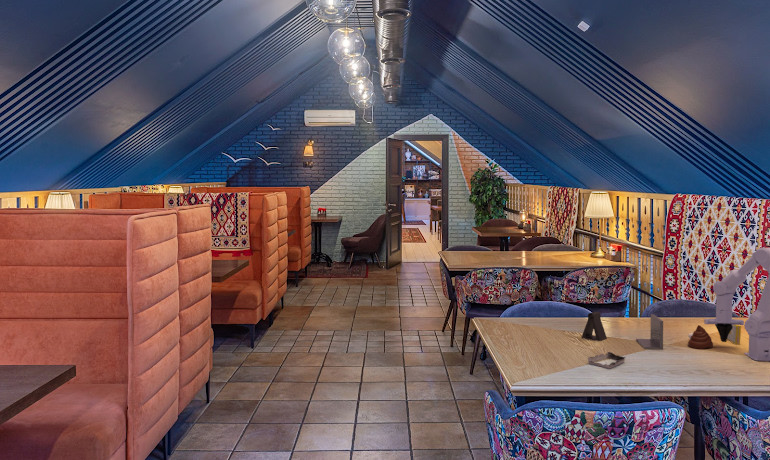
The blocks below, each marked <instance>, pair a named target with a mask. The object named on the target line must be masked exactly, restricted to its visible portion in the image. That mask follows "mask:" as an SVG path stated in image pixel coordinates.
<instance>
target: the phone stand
mask: <svg viewBox="0 0 770 460" xmlns="http://www.w3.org/2000/svg"><path fill="white" fill-rule="evenodd" d="M593 333H594V335H593ZM581 338H582V339H587V340H592V341H597V342H602V341H604V340H607V334H606V331H605V328H604V325H603V322H602V318H601V312H600V311H597V310H596V311H593V312H589V313H588V314H587V321H586V325H584V330H583V332H582V335H581Z"/></svg>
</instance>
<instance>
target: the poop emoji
mask: <svg viewBox="0 0 770 460" xmlns="http://www.w3.org/2000/svg"><path fill="white" fill-rule="evenodd" d="M687 337H688V342H687V345H688V346H689V347H690V348H692V349H695V350H696V349H698V350H704V349H712V348H713V347H714V342H713V341H712V337H711V336H710V334H709V333H708V332H707V331H706V329H705V328H704V327H703V326H701V325H699V324H698V325H697V327H696V328H695V330H694V331H693V332H689V334H688V335H687Z"/></svg>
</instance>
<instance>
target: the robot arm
mask: <svg viewBox="0 0 770 460" xmlns="http://www.w3.org/2000/svg"><path fill="white" fill-rule="evenodd" d="M760 266H761V268H763V269H764V270H765V271H766V272H767V273H768V277H767V280H766V282H765V285H764V287H763V290H762V291H763V292H762V294H761V297H760V299H759V301H758V305H757V308H756V310H754V311H753V312H752V313H751V314H750V315H749V317H748V319H746V320H745V321H744V320H743V319H737V318H736V319H735V318H733V298H734V295H735V294H736V291H737V288H738V287H739V286H741V285H742V284H743V283H744V282H745V281H746V280H747V276H748V275H749V274H750V273H751V272H753V271H754V270H755V269H757V268H758V267H760ZM712 289H713V293H714V294H715V295H716V299H715V301H716V302H715V303H716V304H715V318H704V319H703V321H704V322H703V323H704V325H715V327H716V330H717V331H718V335H719V338H720V341H721V343H727V341H728V339H727V337H728V335H729V333H730V331H731V330H732V328H733V326H732V325H740V326H744V329H745V331H746V332H747V335H748V352H743V354H744V355H745V356H747V357H749V358H750V359H752V360H753V361H758V362H759V361H761V362H762V361H763V362H765V361H766V362H770V247H759V248H757V249H756V250H755V251H754V252H752V254H751V256H750V257H749V258H748V259H747V260H746V262H744V264H742V265H741V267H739V268H738V269H733V270H729V273H728V275H726V276H724V277H723V278H722V280H721V281H720V280H719V281H715V282H714V284H713V287H712Z"/></svg>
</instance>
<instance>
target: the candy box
mask: <svg viewBox="0 0 770 460" xmlns="http://www.w3.org/2000/svg"><path fill="white" fill-rule="evenodd" d="M732 326H733V328H732V330H731V331H730V333H729V335H728V337H727V341H730V342H731V343H733V345H741V333H742V332H741V331H742V325H732Z"/></svg>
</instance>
